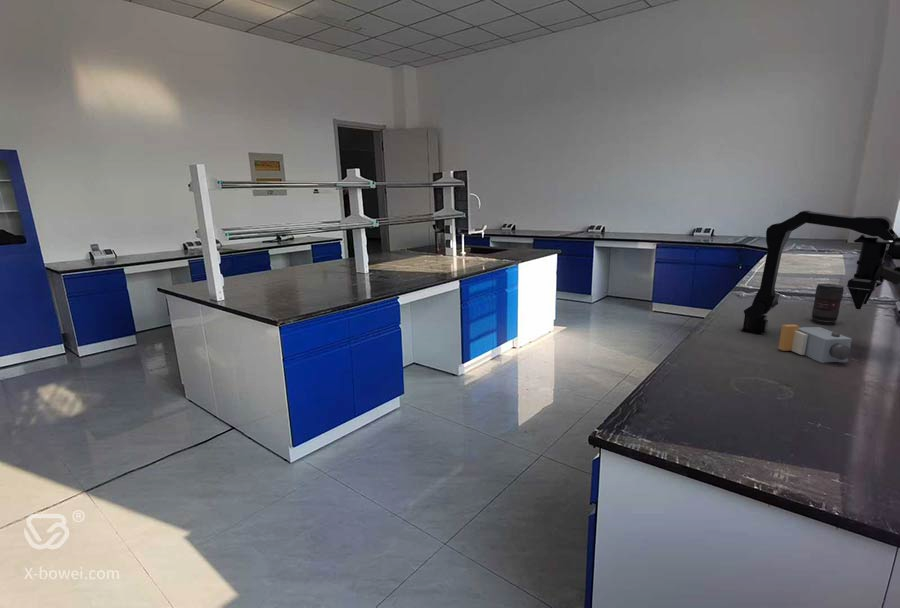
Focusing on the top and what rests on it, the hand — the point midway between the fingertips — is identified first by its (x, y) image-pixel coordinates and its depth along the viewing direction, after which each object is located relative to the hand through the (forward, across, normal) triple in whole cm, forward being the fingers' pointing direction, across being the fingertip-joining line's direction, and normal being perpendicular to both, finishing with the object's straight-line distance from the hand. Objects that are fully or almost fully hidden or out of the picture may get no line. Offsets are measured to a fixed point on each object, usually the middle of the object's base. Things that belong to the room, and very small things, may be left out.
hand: (861, 306), depth 144 cm
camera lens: (+15, +30, +13) cm, 36 cm away
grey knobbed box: (+15, -15, +5) cm, 21 cm away
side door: (+14, -17, +12) cm, 25 cm away
